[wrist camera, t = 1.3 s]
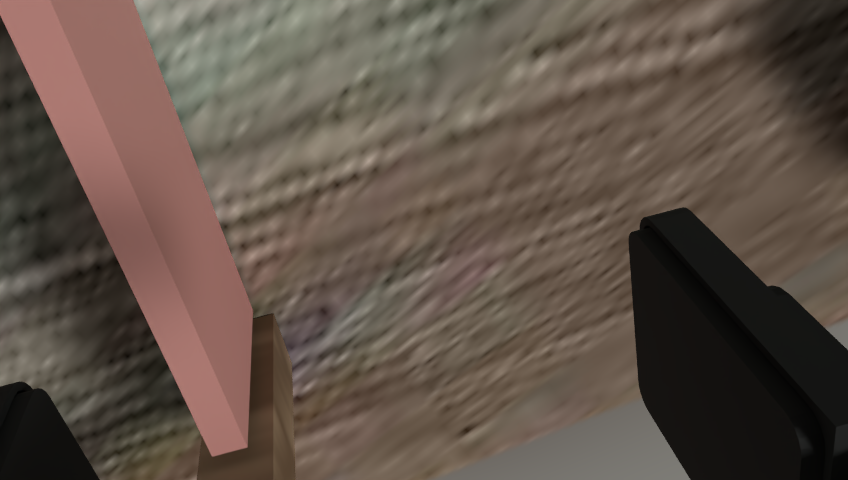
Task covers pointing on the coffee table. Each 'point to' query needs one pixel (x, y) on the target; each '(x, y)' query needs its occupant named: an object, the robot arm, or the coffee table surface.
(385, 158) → the coffee table surface
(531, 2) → the coffee table surface
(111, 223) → the gate
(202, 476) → the gate posts
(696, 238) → the robot arm
